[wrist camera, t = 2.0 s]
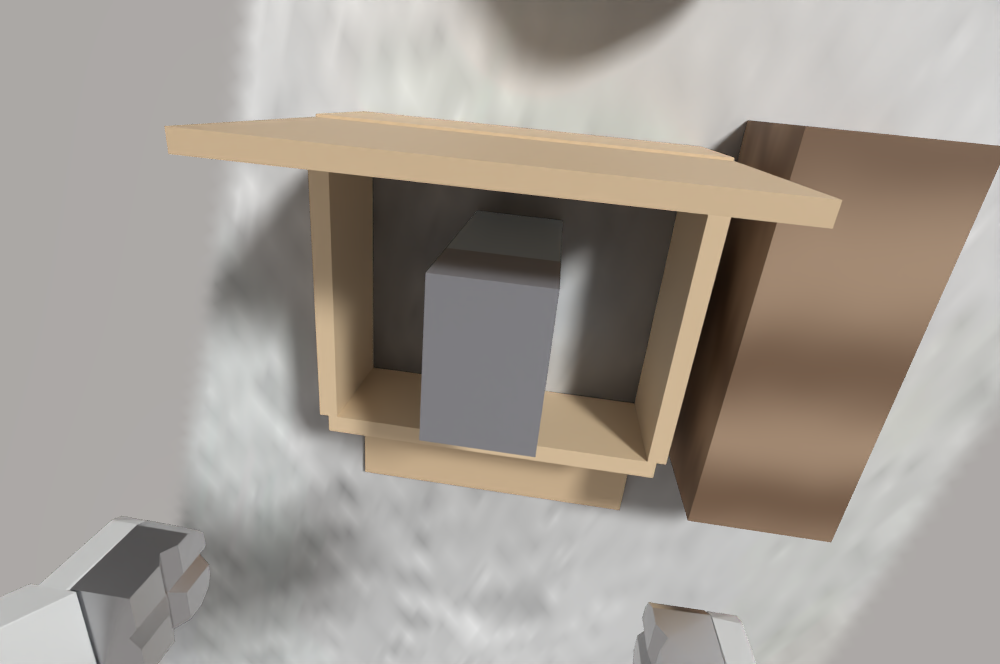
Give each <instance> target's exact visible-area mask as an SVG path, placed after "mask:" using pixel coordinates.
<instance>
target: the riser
mask: <svg viewBox="0 0 1000 664" xmlns="http://www.w3.org/2000/svg"><path fill="white" fill-rule="evenodd" d="M737 162H738V163H741V164H744V165H747V166H749V167H752V168H755V169H758V170H760V171H763V172H766V173H769V174H772V175H774V176H777V177H780V178H783V179H785V180H788V181H791V182H794V183H797V184H799V185H802V186H805V187H808V188H810V189H813V190H816V191H819V192H822V193H824V194H827V195H830V196H833V197H835V198H838V199H841V200H842V203H841V206H840V209H839V212H838V215H837V218H836V220H835V223H834V226H833V229H830V228H822V227H813V226H804V225H795V224H786V223H777V222H768V221H759V220H751V219H742V218H733V217H731V220H730V224H729V228H728V231H727V235H726V239H725V243H724V247H723V250H722V254H721V258H720V262H719V265H718V269H717V273H716V277H715V281H714V284H713V288H712V292H711V296H710V300H709V303H708V307H707V311H706V315H705V318H704V322H703V326H702V330H701V334H700V337H699V341H698V345H697V349H696V353H695V356H694V360H693V364H692V368H691V372H690V375H689V379H688V383H687V387H686V390H685V394H684V398H683V402H682V406H681V409H680V413H679V417H678V421H677V425H676V428H675V432H674V436H673V440H672V443H671V447H670V451H669V456H670V460H671V463H672V467H673V470H674V474H675V477H676V481H677V484H678V488H679V491H680V495H681V498H682V502H683V505H684V509H685V512H686V516H687V519H688V521H694V522H701V523H707V524H714V525H721V526H727V527H734V528H740V529H747V530H754V531H760V532H767V533H773V534H780V535H787V536H793V537H800V538H806V539H813V540H819V541H826V542H831V541H832V539H833V537H834V535H835V532H836V530H837V528H838V526H839V523H840V521H841V519H842V517H843V515H844V512H845V510H846V508H847V506H848V503H849V501H850V499H851V497H852V494H853V492H854V490H855V488H856V485H857V483H858V481H859V479H860V476H861V474H862V472H863V470H864V468H865V465H866V463H867V461H868V459H869V456H870V454H871V452H872V450H873V447H874V445H875V443H876V441H877V438H878V436H879V434H880V432H881V429H882V427H883V425H884V423H885V421H886V418H887V416H888V414H889V412H890V409H891V407H892V405H893V403H894V400H895V398H896V396H897V394H898V391H899V389H900V387H901V385H902V382H903V380H904V378H905V376H906V374H907V371H908V369H909V367H910V365H911V362H912V360H913V358H914V356H915V353H916V351H917V349H918V347H919V344H920V342H921V340H922V338H923V335H924V333H925V331H926V329H927V327H928V324H929V322H930V320H931V318H932V315H933V313H934V311H935V309H936V306H937V304H938V302H939V300H940V297H941V295H942V293H943V291H944V288H945V286H946V284H947V282H948V280H949V277H950V275H951V273H952V271H953V268H954V266H955V264H956V262H957V259H958V257H959V255H960V253H961V250H962V248H963V246H964V244H965V241H966V239H967V237H968V235H969V233H970V230H971V228H972V226H973V224H974V221H975V219H976V217H977V215H978V212H979V210H980V208H981V206H982V203H983V201H984V199H985V197H986V194H987V192H988V190H989V188H990V186H991V183H992V181H993V179H994V177H995V174H996V172H997V170H998V168H999V165H1000V146H995V145H985V144H976V143H966V142H956V141H947V140H937V139H928V138H918V137H908V136H899V135H889V134H879V133H869V132H859V131H849V130H839V129H829V128H819V127H809V126H799V125H789V124H779V123H769V122H759V121H749V120H748V121H747V125H746V129H745V133H744V136H743V140H742V144H741V148H740V152H739V156H738V160H737Z"/></svg>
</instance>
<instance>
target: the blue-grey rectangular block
mask: <svg viewBox="0 0 1000 664" xmlns="http://www.w3.org/2000/svg"><path fill="white" fill-rule="evenodd" d="M562 225H563V221H562V220H554V219H545V218H537V217H528V216H519V215H511V214H502V213H493V212H485V211H477V212H476V213H475V214H474V215H473V216H472V218H471V219H470V220H469V221H468V222H467V224H466V225H465V226H464V227H463V228H462V230H461V231H460V232H459V233H458V234H457V236H456V237H455V238H454V239H453V240H452V242H451V243H450V244H449V245H448V246H447V248H446V249H445V250H444V251H443V252H442V254H441V255H440V256H439V257H438V258H437V260H436V261H435V262H434V263H433V264H432V266H431V267H430V268H429V269H428V270H427V272H426V274H425V301H424V327H423V354H422V380H421V407H420V433H419V440H421V441H427V442H434V443H441V444H448V445H455V446H461V447H468V448H475V449H482V450H489V451H496V452H502V453H509V454H516V455H523V456H530V457H536V450H537V443H538V436H539V429H540V422H541V415H542V408H543V401H544V394H545V387H546V380H547V373H548V366H549V359H550V352H551V345H552V338H553V331H554V324H555V317H556V310H557V304H558V297H559V290H560V268H561V247H562Z"/></svg>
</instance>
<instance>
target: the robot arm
mask: <svg viewBox="0 0 1000 664" xmlns="http://www.w3.org/2000/svg"><path fill="white" fill-rule="evenodd" d="M205 547H206V543H205V539H204V534H203V532H201V531H199V530H195V529H190V528H185V527H180V526H174V525H169V524H164V523H158V522H153V521H148V520H147V521H146V520H140V519H135V518H129V517H124V516H121V517H118V518H116V519H113V520H111V521H110V522H109V523H108V524H106V525H105V526H104V527H103V528H102V529H101V530H100V531H99V532H97V533H96V534H95V535H94V536H93V537H92V538H91V539H90V540H89V541H87V542H86V543H85V544H84V545H83V546H82V547H81V548H79V549H78V550H77V551H76V552H75V553H74V554H73V555H72V556H71V557H70V558H68V559H67V560H66V561H65V562H64V563H63V564H62V565H60V566H59V567H58V568H57V569H56V570H55V571H54V572H52V573H51V574H50V575H49V576H48V577H47V578H46V579H45V580H44V581H42V582H41V583H40V584H39V585H35V584H28V585H26V586H24V587H22V588H19V589H17V590H15V591H12V592H10V593H8V594H6V595H3V596H1V597H0V664H158V663H159V662H160V660H161V659H162V658H163V656H164V655H165V654H166V652H167V651H168V650H169V648H170V647H171V646H172V644H173V643H174V641H175V628H176V627H178V626H180V625H182V624H183V623H185V622H187V621H188V620H190V619H191V618H192V617H193V616H194V614H195V613H196V611H197V610H198V609H199V607H200V606H201V604H202V602H203V600H204V597H205V595H206V592H207V590H208V588H209V580H210V569H209V564H208V563H207V562H206V561H205V559H204V558H203V557H202V556H201V555H200V553H201V552H202V550H203V549H204V548H205ZM642 619H643V626H644V632H642V633H641V634H639V635H638V636H637V639H636V643H635V648H634V656H633V664H757V663H756V660H755V658H754V655H753V652H752V649H751V646H750V643H749V641H748V638H747V635H746V632H745V629H744V626H743V624H742V621H741V620H740V619H739V618H738V616H734V615H728V614H722V613H715V612H709V611H707V612H705V611H704V610H697V609H691V608H684V607H677V606H670V605H664V604H657V603H650V602H648V604H647V605H646V607H645V610H644V613H643V617H642Z"/></svg>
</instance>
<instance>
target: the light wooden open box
mask: <svg viewBox="0 0 1000 664" xmlns="http://www.w3.org/2000/svg"><path fill="white" fill-rule="evenodd" d="M165 132H166V140H167V146H168V153H169V154H174V155H184V156H192V157H201V158H210V159H219V160H227V161H236V162H245V163H254V164H263V165H272V166H281V167H289V168H298V169H307V170H308V182H309V202H310V222H311V242H312V262H313V282H314V302H315V322H316V342H317V363H318V383H319V403H320V414H321V415H328V416H329V430H330V431H337V432H344V433H350V434H357V435H364V436H365V472H371V473H378V474H384V475H391V476H398V477H404V478H411V479H417V480H424V481H431V482H437V483H444V484H450V485H457V486H464V487H470V488H477V489H483V490H490V491H496V492H503V493H510V494H516V495H523V496H529V497H536V498H543V499H549V500H556V501H562V502H569V503H575V504H582V505H589V506H595V507H602V508H608V509H615V510H619V509H620V505H621V500H622V496H623V492H624V488H625V483H626V479H627V475H628V474H629V475H636V476H643V477H650V478H653V476H654V472H655V468H656V464H657V463H658V464H665V465H666V462H667V459H668V455H669V451H670V447H671V443H672V440H673V436H674V432H675V428H676V425H677V421H678V417H679V413H680V409H681V406H682V402H683V398H684V394H685V390H686V387H687V383H688V379H689V375H690V372H691V368H692V364H693V360H694V356H695V353H696V349H697V345H698V341H699V337H700V334H701V330H702V326H703V322H704V318H705V315H706V311H707V307H708V303H709V300H710V296H711V292H712V288H713V284H714V281H715V277H716V273H717V269H718V265H719V262H720V258H721V254H722V250H723V247H724V243H725V239H726V235H727V231H728V228H729V224H730V220H731V217H733V218H742V219H751V220H759V221H768V222H777V223H786V224H795V225H804V226H813V227H822V228H830V229H833V226H834V223H835V220H836V218H837V215H838V212H839V209H840V206H841V203H842V200H841V199H838V198H835V197H833V196H830V195H827V194H824V193H822V192H819V191H816V190H813V189H810V188H808V187H805V186H802V185H799V184H797V183H794V182H791V181H788V180H785V179H783V178H780V177H777V176H774V175H772V174H769V173H766V172H763V171H760V170H758V169H755V168H752V167H749V166H747V165H744V164H741V163H738V162H735V161H734V158H733V157H731V156H728V155H725V154H722V153H719V152H716V151H713V150H710V149H707V148H704V147H700V146H691V145H681V144H671V143H662V142H652V141H643V140H633V139H624V138H614V137H604V136H595V135H585V134H576V133H566V132H556V131H547V130H537V129H528V128H518V127H508V126H499V125H489V124H480V123H470V122H460V121H451V120H441V119H432V118H422V117H412V116H403V115H393V114H384V113H374V112H365V111H362V112H342V113H322V114H316V117H304V118H288V119H272V120H255V121H239V122H223V123H207V124H191V125H174V126H165ZM373 177H378V178H387V179H396V180H405V181H414V182H422V183H431V184H440V185H449V186H458V187H467V188H476V189H485V190H493V191H502V192H511V193H520V194H529V195H538V196H547V197H556V198H564V199H573V200H582V201H591V202H600V203H609V204H618V205H626V206H635V207H644V208H653V209H662V210H671V211H677V215H676V220H675V224H674V229H673V233H672V238H671V242H670V247H669V251H668V255H667V260H666V264H665V269H664V273H663V278H662V282H661V287H660V291H659V296H658V300H657V305H656V309H655V314H654V318H653V323H652V327H651V332H650V336H649V341H648V345H647V350H646V354H645V359H644V363H643V368H642V372H641V377H640V381H639V386H638V390H637V395H636V399H635V403H628V402H621V401H614V400H606V399H599V398H592V397H585V396H577V395H570V394H563V393H556V392H548V391H545V394H544V401H543V408H542V415H541V422H540V429H539V436H538V443H537V450H536V457H530V456H523V455H516V454H509V453H502V452H496V451H489V450H482V449H475V448H468V447H461V446H455V445H448V444H441V443H434V442H427V441H421V440H419V433H420V407H421V380H422V374H418V373H410V372H403V371H396V370H389V369H381V368H374V367H373Z"/></svg>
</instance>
